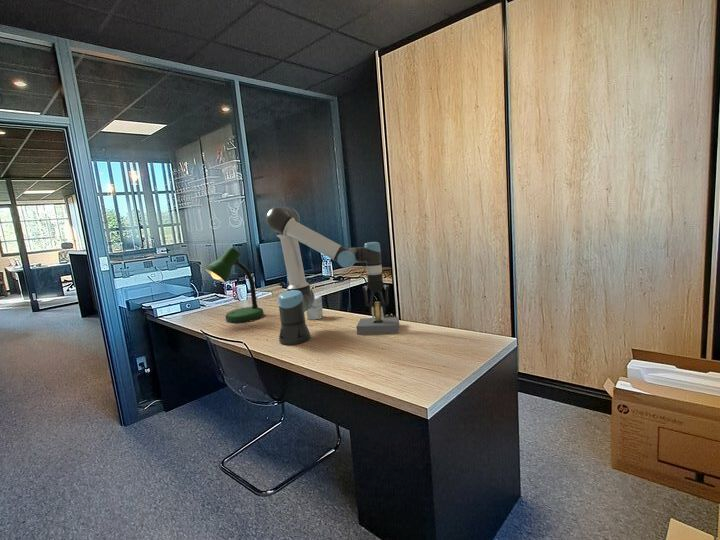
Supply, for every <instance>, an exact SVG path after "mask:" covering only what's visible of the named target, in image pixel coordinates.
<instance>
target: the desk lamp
mask: <svg viewBox="0 0 720 540" xmlns="http://www.w3.org/2000/svg"><path fill="white" fill-rule="evenodd" d="M240 257H241V253H240V252H239V251H238V250H237V249H236V248H233V247H231V246H228V247H227V249H226V250H225V251H224V253H222V255H221V256H220V257H219V258H218V259H216V260H214V261H213V262H211V263H209V264H208V265H207V266H206V267H205V268H204V271H205V272H207V274H209V275H210V276H211V277H212V279H214V280H217V281H219V282H221V283H225V284H226V283H227V282H228V281H229V279H230V275H231V272H232V268H233V266H234V265H235V266H237V268H239V269H240V270H242V271H243V272H244V274H245V276H246V277H247V280H248V283H249V292H250V297H251V306H249V307H248V306H247V307H242V308H241V307H240V308H236V309H233V310H230V311H228V312H226V313H225V322H227V323H229V322H230V324H240V323H239V322H242V323H247V322H246V321H248V322H251V321H250V320H253V321H255V320H254V319H256V320H258V318H259V319H261V318H260V317H262V316H263V315H264V316H265V313H264V310H263V308H262V307H258V302H257V293H256V287H255V286H256V285H255V281H254V278H253V277H254V276H253V275H252V273H251V271H250V269H248V267H247V266H246V265H245V264H244V263H242V262H241V261H239V258H240ZM264 316H263V317H264ZM263 317H262V318H263Z"/></svg>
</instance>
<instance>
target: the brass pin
mask: <svg viewBox="0 0 720 540" xmlns="http://www.w3.org/2000/svg"><path fill="white" fill-rule="evenodd" d="M373 306H374V318H375V323H381V318H382V316H381V301H374V302H373Z"/></svg>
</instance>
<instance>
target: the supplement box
mask: <svg viewBox="0 0 720 540" xmlns="http://www.w3.org/2000/svg"><path fill="white" fill-rule="evenodd" d="M314 297H315V299H314V303H313V305H312V306H311V307H310V308H309V309H308V310H306V311H305V312H306V319H308V320H316V319H319V318H320V317H321V318H323V317H324V311H323V303H322V301H323V299H322V295H314ZM322 316H323V317H322ZM321 318H320V319H321ZM320 319H319V320H320Z"/></svg>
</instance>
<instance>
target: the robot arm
mask: <svg viewBox="0 0 720 540" xmlns="http://www.w3.org/2000/svg"><path fill="white" fill-rule="evenodd" d="M265 219H266V221H265V222H266V224H267V226H268V227H269V229H270V230H272V231H274V232H275V236H277V238H279V239H280V243H281V244H280V245H281V248H282V249H281V250H282V254H283V259H284V266H285V269H286V274H287V279H288V286H287V287H286V291H284V292H281V293H280V294H279V296H278V302H277V303H278V310H279V318H280V330H279V335H278V343H279V344H281V345H285V346H286V345H287V346H291V345H293V346H294V345H299V344H302V343H305V342H308V341H309V340H310V339H311V337H312V336H311V332H310V330H309V328H308V325H307V323H306V316H305V312H307V311H306V310H308V309H309V308H310V307H311V306H312V305H313V303H314V299H315V297H314V296H315V293H314V291H313V290H312V289H311V286H310V283H309V282H307V280H306V276H305V270H304V266H303V265H304V264H303V261H302V260H303V259H302V255H301V248H300V243H301V244H303V245H305V246H307V247H308V248H311V249H312V250H314V251H316V252H318V253H320V254H322V255H324V256H326V257H327V258H328V259H331V260H333V261H335V262H337V264H338V265H339V266H340V267H342V268H343V269H344V268H347V269H348V268H352V267H353V265H355V264H356V263H365V265H366V267H365V268H366V274H367V275H366V277H367V279H366V281H367V284H366V285H364V286H362V288H361V289H362V292H363V296H364V297H363V298H364V305H365V307H366V308H367V307H368V308H369V314H371V318H372V320H374V318H375V310H374V305H373V300H374V294H375V293H378V297H379V299H380V309H381V318H382V320H383V319H384V318H385V317H384V314H386V307H387V306H389V289H390V285H389V284H385V283H384V282H383V281H384V280H383V273H382V272H383V267H382V265H383V264H382V252H381V243H380V242H378V241H372V242H371V241H370V242H369V241H368V242H366V243H364V246H361V247H360V246H359V247H344V246H342V245H341V244H339V243H337V242H336V241H334V240H331V239H329V238H327V237H326V236H324V235H323V234H321V233H319V232H316V231H315V230H312V229H311V228H309V227H307V226H306V225H303V224H302V223H300V222H301V219H300V214H299V213H298V212H297V210H296V209H294V208H293V207H290V206H274V207H272V208H271V209H269V211H268V212H267V214H266V216H265ZM383 288H384V290H385V293H384V295H385V296H383V293H382V289H383ZM368 290H369V291H370V295H369V299H368ZM384 298H385V299H384Z"/></svg>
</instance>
